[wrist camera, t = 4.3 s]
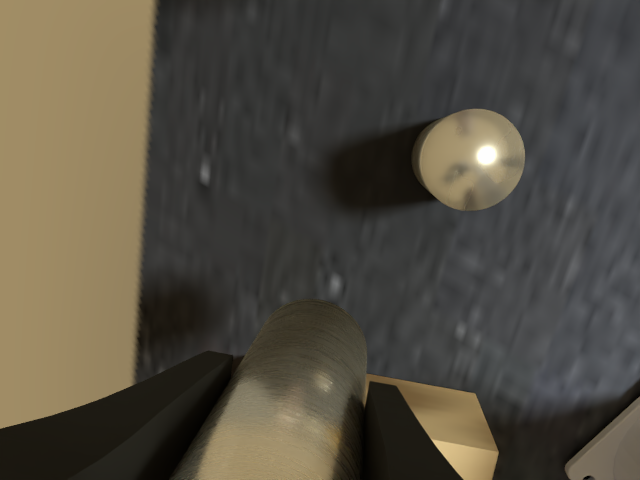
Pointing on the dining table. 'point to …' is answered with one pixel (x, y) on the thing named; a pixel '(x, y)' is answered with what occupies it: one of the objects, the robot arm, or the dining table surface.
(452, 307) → the dining table surface
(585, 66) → the dining table surface
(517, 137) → the short pin
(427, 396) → the pin block
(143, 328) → the dining table surface
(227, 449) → the tall pin
